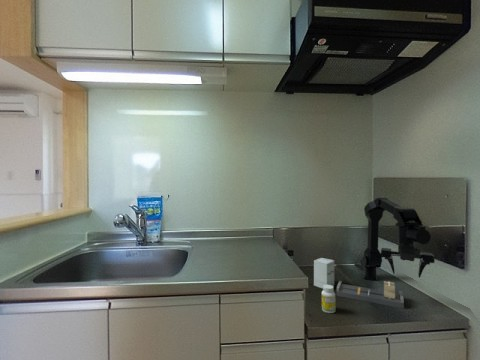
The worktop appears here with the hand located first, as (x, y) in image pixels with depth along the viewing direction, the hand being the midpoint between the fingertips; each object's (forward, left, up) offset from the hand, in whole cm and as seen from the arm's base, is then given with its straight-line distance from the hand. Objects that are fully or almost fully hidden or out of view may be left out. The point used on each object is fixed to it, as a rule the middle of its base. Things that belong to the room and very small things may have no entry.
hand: (406, 275), depth 111 cm
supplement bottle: (+20, -28, -12) cm, 37 cm away
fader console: (0, -14, -12) cm, 19 cm away
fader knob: (0, -6, -10) cm, 12 cm away
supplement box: (-4, -34, -12) cm, 37 cm away
